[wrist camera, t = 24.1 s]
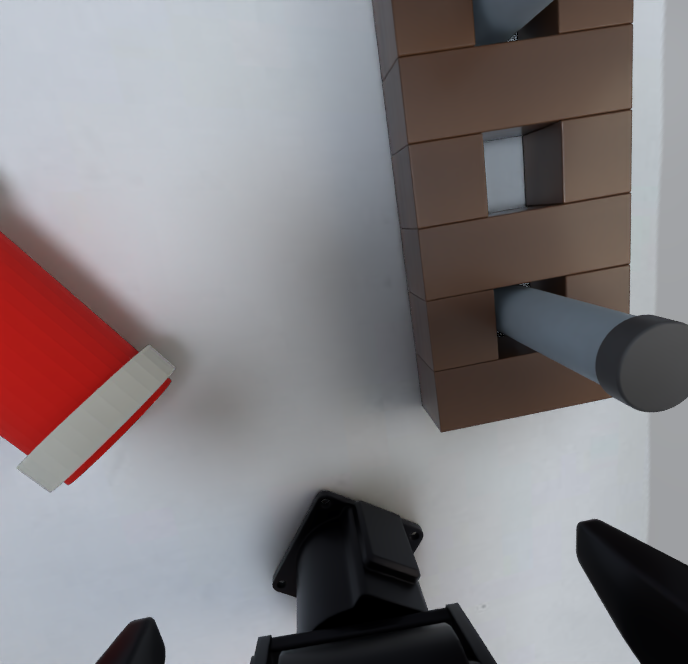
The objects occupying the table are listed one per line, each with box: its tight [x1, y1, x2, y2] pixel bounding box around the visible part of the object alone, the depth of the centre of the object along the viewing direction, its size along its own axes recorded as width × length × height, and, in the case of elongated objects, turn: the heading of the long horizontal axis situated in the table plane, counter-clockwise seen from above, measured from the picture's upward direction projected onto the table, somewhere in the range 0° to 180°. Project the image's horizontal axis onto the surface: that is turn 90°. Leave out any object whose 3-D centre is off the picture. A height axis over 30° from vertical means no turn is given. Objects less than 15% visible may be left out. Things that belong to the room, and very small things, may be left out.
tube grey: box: [493, 284, 688, 412], centre depth 17 cm, size 3×3×10 cm
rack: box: [372, 0, 633, 432], centre depth 19 cm, size 22×9×3 cm, turn 9°
